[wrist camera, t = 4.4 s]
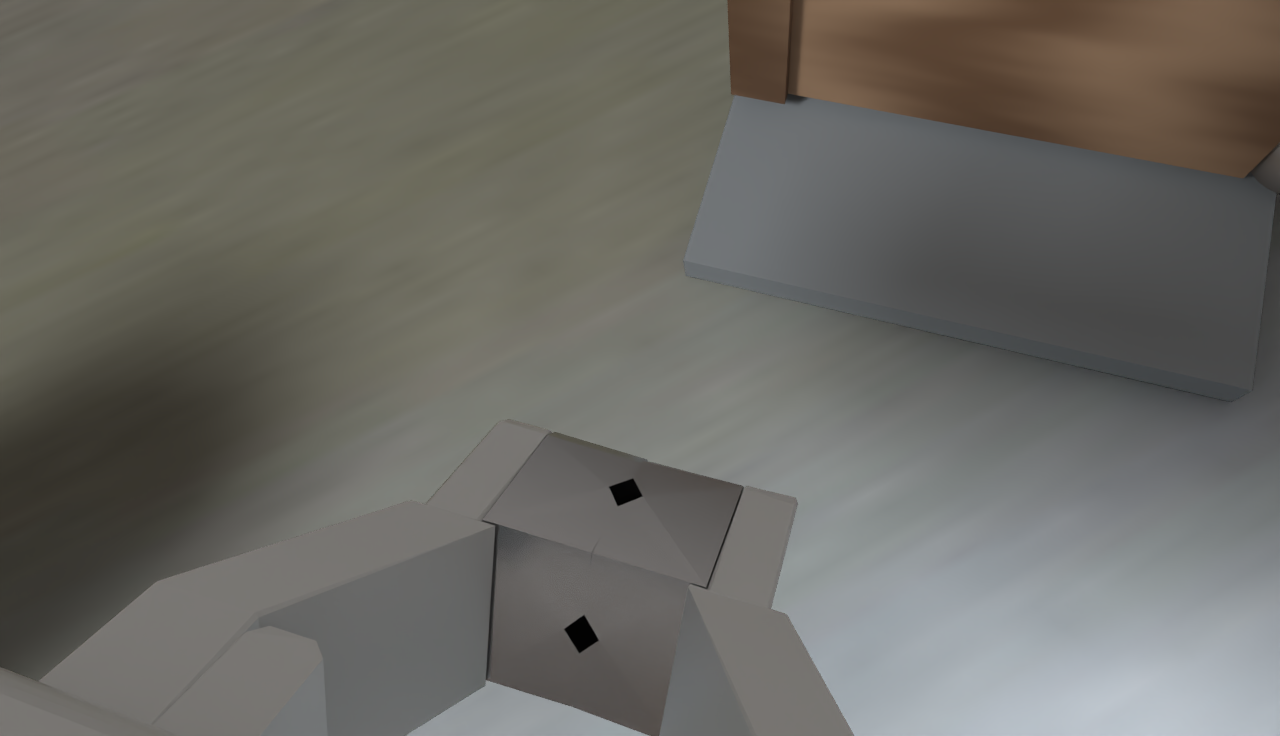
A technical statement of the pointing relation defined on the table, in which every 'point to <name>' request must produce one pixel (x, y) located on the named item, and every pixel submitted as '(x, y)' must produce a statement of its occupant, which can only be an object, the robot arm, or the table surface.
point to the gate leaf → (1037, 70)
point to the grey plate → (992, 240)
